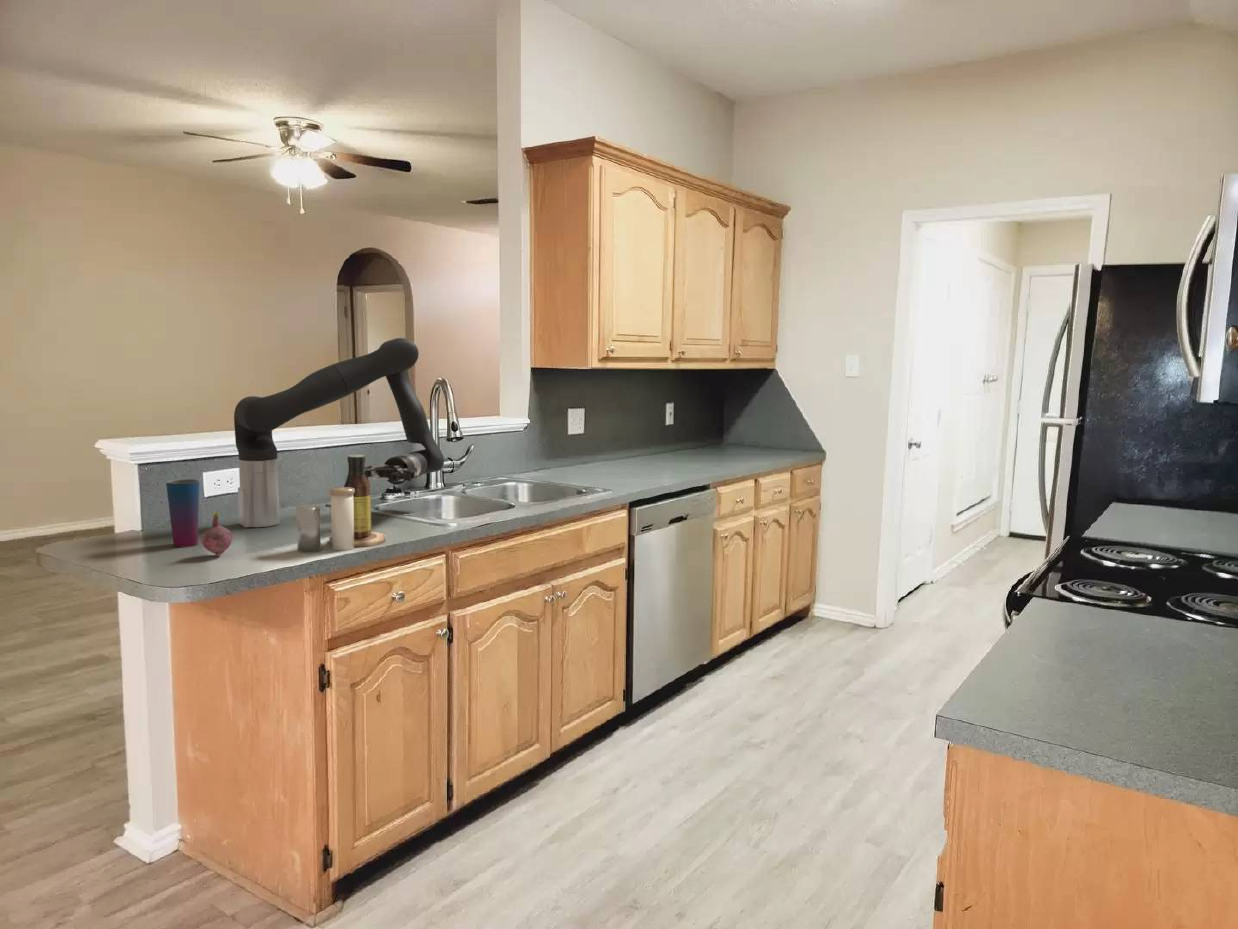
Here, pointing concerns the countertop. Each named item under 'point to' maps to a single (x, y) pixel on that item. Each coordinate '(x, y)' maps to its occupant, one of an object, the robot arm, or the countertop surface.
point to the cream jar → (342, 518)
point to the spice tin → (308, 528)
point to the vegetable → (217, 538)
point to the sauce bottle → (360, 495)
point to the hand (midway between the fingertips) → (376, 477)
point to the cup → (184, 510)
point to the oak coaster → (368, 540)
